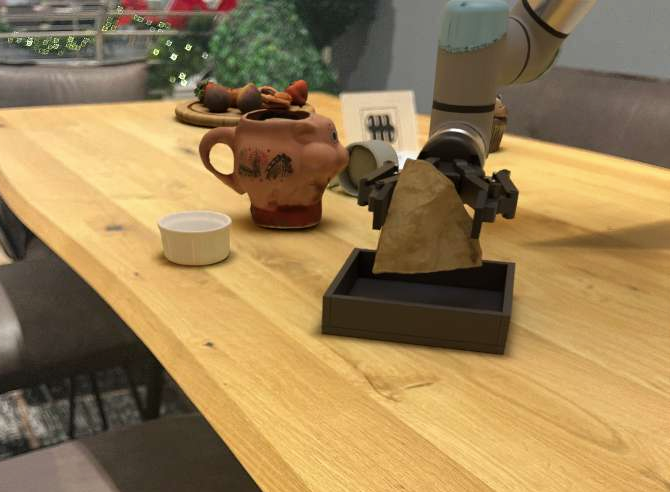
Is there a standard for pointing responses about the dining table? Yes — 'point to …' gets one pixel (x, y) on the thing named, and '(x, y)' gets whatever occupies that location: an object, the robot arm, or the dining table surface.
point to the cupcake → (498, 124)
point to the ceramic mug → (363, 163)
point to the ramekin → (195, 237)
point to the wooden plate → (239, 102)
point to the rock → (425, 225)
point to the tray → (422, 304)
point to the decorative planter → (280, 164)
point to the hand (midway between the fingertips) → (426, 219)
